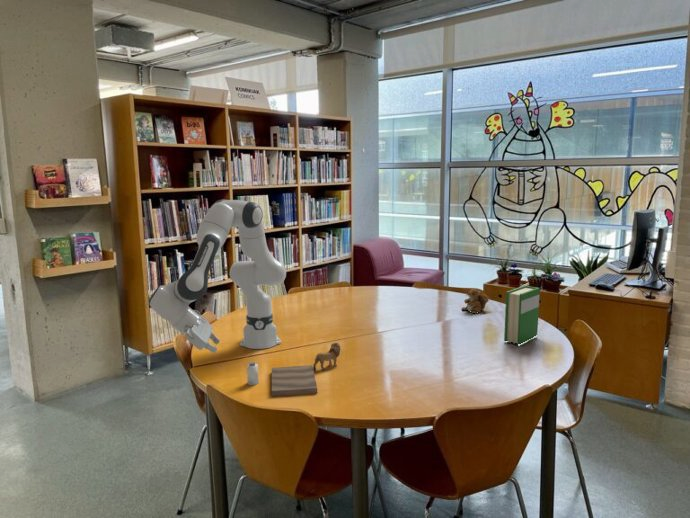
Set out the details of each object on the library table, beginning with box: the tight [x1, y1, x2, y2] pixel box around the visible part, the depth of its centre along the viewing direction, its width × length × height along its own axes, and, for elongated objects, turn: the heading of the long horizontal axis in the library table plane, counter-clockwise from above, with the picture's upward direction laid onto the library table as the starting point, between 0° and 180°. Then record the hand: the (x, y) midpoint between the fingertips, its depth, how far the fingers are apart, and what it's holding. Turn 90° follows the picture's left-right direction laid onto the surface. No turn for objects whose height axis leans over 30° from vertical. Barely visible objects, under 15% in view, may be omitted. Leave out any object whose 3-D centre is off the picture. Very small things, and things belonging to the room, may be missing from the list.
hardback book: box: [503, 285, 541, 345], centre depth 232 cm, size 18×7×24 cm, turn 134°
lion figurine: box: [312, 341, 341, 372], centre depth 202 cm, size 15×5×9 cm, turn 138°
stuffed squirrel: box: [461, 288, 490, 314], centre depth 283 cm, size 10×14×13 cm
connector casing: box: [246, 361, 259, 386], centre depth 187 cm, size 4×4×8 cm
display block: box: [271, 364, 318, 397], centre depth 188 cm, size 22×16×2 cm
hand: (217, 346), depth 184 cm, fingers open, 8 cm apart
